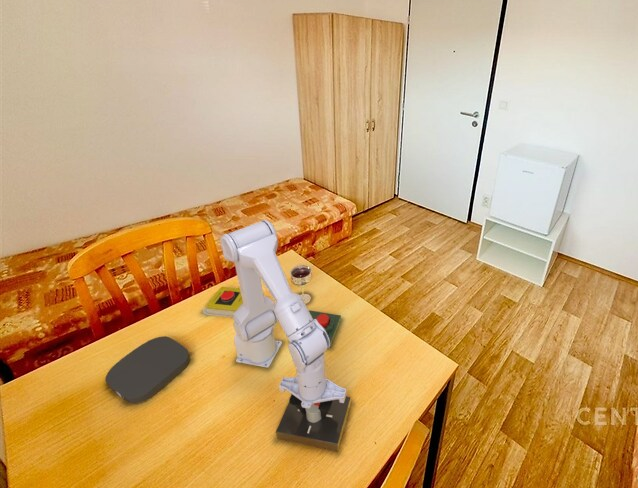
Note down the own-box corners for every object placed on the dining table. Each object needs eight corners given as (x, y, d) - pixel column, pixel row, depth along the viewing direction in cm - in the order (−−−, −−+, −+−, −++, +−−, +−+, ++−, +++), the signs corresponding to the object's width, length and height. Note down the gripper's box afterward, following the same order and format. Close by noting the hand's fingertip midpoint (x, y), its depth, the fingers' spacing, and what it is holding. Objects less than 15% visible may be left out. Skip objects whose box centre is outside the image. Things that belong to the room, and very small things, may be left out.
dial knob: (303, 420, 71) (302, 411, 70) (310, 402, 75) (309, 392, 73) (320, 424, 71) (319, 414, 69) (326, 405, 74) (325, 395, 73)
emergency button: (216, 282, 105) (260, 287, 105) (218, 292, 107) (261, 297, 107) (198, 303, 97) (246, 308, 97) (201, 314, 99) (248, 319, 98)
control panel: (277, 439, 70) (275, 431, 69) (296, 394, 79) (295, 386, 78) (337, 451, 69) (337, 443, 68) (350, 404, 78) (350, 396, 77)
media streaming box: (197, 359, 86) (194, 352, 84) (136, 411, 73) (133, 403, 72) (162, 337, 91) (160, 330, 89) (101, 382, 79) (97, 374, 77)
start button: (314, 326, 93) (314, 322, 93) (319, 317, 97) (318, 313, 96) (326, 328, 93) (326, 324, 92) (330, 319, 96) (330, 314, 95)
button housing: (290, 341, 93) (289, 331, 91) (304, 314, 102) (303, 305, 100) (330, 347, 91) (330, 338, 90) (340, 320, 100) (340, 311, 99)
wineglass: (318, 297, 108) (316, 270, 103) (302, 310, 103) (300, 281, 98) (304, 289, 111) (301, 261, 106) (288, 300, 106) (285, 272, 101)
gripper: (269, 386, 64) (276, 425, 70) (339, 399, 62) (340, 437, 68) (285, 355, 70) (290, 392, 76) (349, 366, 69) (349, 404, 75)
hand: (314, 412), depth 73 cm, fingers closed on dial knob, 4 cm apart
